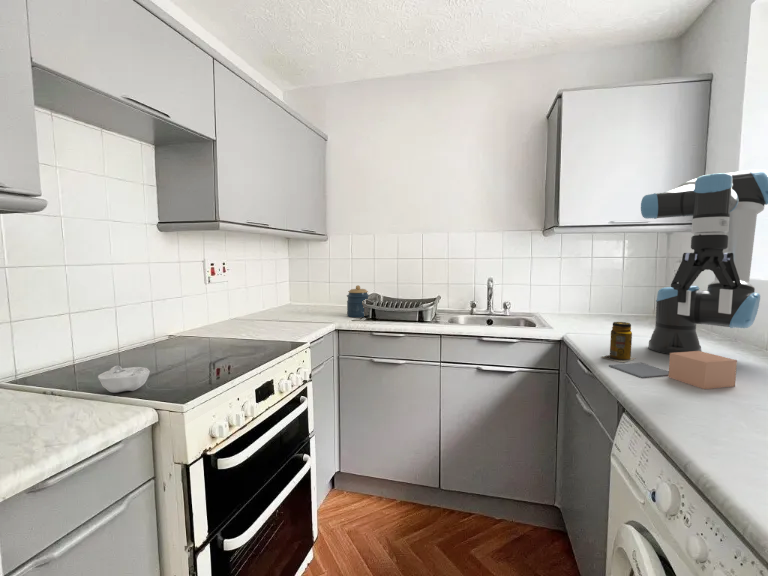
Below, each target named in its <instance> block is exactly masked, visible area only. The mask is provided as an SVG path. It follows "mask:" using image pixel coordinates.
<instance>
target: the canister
mask: <svg viewBox="0 0 768 576" xmlns="http://www.w3.org/2000/svg"><path fill="white" fill-rule="evenodd" d="M346 297H347V301H346V307H347V308H346V311H347V312H346V315H347V317H348V316H349V318H365V317H364V308H363V305H362V301H363V300H365V299H368V297H370V294H369V291H368V290H367V289H366V288H361V286H360V285H356V286H355V288H352V289H350V290H348V294H347V295H346Z"/></svg>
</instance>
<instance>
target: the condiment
mask: <svg viewBox="0 0 768 576" xmlns="http://www.w3.org/2000/svg"><path fill="white" fill-rule="evenodd" d="M632 332H633V331H632V324H631V323H630V322H627V321H625V322H624V321H614V322H612V327H611V330H610V344H609V354H607V355H604V356H601V358H602V359H605V360H606V359H607V360H610V361H613V362H619V363H622V364H625V363H626V362H627V363H628V362H631V361H634V360H636V359H637V358H636V357H632V341H633V333H632Z"/></svg>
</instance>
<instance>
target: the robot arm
mask: <svg viewBox="0 0 768 576" xmlns="http://www.w3.org/2000/svg"><path fill="white" fill-rule="evenodd" d="M766 205H768V170H766V169H763V168H762V169H761V168H759V169H748V170H741V171H735V172H734V171H733V172H726V173H725V172H721V173H710V174H704V175H700V176H698V177H697V178H694V179H691V180H688V181H685V182H683V183H681V184H680V185H678V186H677V187H676V188H674V189H671V190H668V191H664V192H658V193H656V192H655V193H651V194H649V193H648V194H645V195H644V196H642V199H641V202H640V212H641V213H640V214H641V216H642V218H643V219H664V218H665V219H666V218H678V217H679V218H680V217H692V221H691V234H693V235H692V236H691V237H690V238H691V239H690V249H691V250H693V252H683V254H682V259H681V263H680V264H679V266H678V269H677V270H676V273H675V275H674V276H673V278H672V281H671V282H670V283H671V284H670V286H666V287H662V288H660V289H658V290H657V295H656V300H655V302H656V306H655V309H656V310H655V325H654V326H655V328H654V329H653V331H652V334H651V337H650V339H649V341H648V349H649V350H650V351H653V352H657V353H662V354H666V355H667V354H668V355H670V353H677V352H691V351H701V352H702V346H701V344H700V341H699V340H700V339H699V337H698V334H697V325H705V326H712V327H713V326H715V327H725V328H729V329H734V328H736V329H748V328H750V327H752V325H753V324H754V322H755V319H756V318H757V314H758V311H759V308H760V302H761V294H760V293H759V292H755V291H756V288H755V286H753V285H752V283H750V278H751V268H752V260H753V252H754V243H755V235H756V225H757V217H758V214H761V212H763V211H764V210H765V206H766ZM708 270H710V271H711V272H713V274H714V281H711V282H710V283H708V285H707V289H705V290H702V289H700V287H699V285H693V284H694V283H695V282H696V280H697V279H698V277H699V276H700V274H701V273H702V272H704V271H708Z"/></svg>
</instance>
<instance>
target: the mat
mask: <svg viewBox="0 0 768 576" xmlns="http://www.w3.org/2000/svg"><path fill="white" fill-rule="evenodd" d="M608 367H610V368H613V369H616V370H618V371H621V372H624V373H626V374H629V375H632V376H634V375H635V376H634V377H638V378H640V377H641V378H640V379H646V378H647V377H648V378H647V379H649V377H650V378H660V377H669V370H666V369H663V368H660V367H657V366H654V365H650V364H647V363H645V362H641V361H640V362H630V363H628V362H627V363H618V364H617V363H616V364H609V365H608Z"/></svg>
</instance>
